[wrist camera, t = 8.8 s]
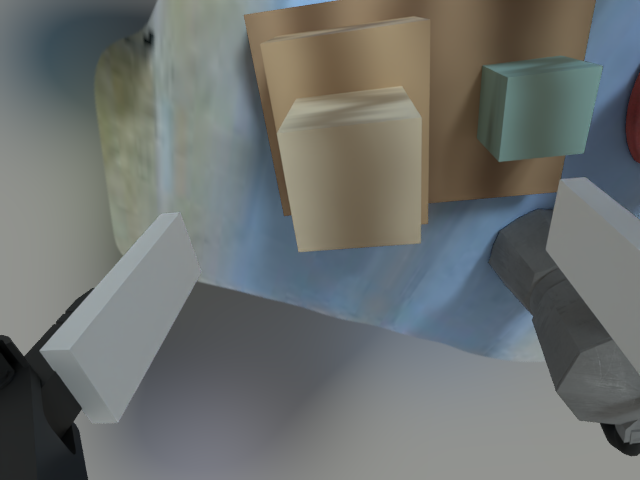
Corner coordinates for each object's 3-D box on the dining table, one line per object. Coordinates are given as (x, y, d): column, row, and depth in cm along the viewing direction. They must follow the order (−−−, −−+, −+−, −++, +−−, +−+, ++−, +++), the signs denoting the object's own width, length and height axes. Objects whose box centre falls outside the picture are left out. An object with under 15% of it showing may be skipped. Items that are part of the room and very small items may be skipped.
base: (578, -37, 26) (676, -54, 18) (542, 177, 33) (599, 229, 25) (253, 13, 28) (217, 17, 21) (288, 200, 36) (272, 254, 28)
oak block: (402, 85, 22) (421, 117, 16) (403, 185, 25) (420, 243, 19) (296, 98, 22) (276, 133, 16) (310, 193, 25) (298, 252, 20)
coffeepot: (479, 201, 35) (581, 359, 19) (595, 173, 33) (812, 324, 17) (494, 325, 42) (577, 511, 27) (590, 309, 40) (740, 499, 25)
